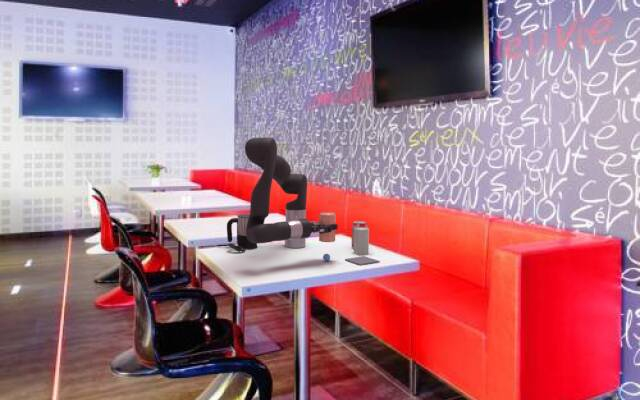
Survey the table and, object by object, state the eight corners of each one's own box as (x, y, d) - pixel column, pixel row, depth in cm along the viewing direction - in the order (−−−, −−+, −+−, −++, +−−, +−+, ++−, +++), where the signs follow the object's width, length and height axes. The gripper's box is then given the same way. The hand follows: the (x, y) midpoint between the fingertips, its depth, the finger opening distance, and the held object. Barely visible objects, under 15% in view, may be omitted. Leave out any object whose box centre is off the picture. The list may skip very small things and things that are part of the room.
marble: (321, 260, 202) (321, 253, 202) (327, 259, 204) (327, 252, 204) (325, 262, 200) (325, 254, 200) (331, 261, 202) (331, 254, 201)
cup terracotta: (316, 240, 202) (316, 213, 201) (329, 238, 206) (329, 212, 204) (325, 242, 197) (325, 215, 196) (337, 241, 201) (338, 214, 199)
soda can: (366, 250, 224) (366, 223, 222) (350, 249, 225) (350, 223, 224) (367, 247, 230) (368, 221, 229) (352, 246, 232) (353, 220, 230)
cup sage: (351, 252, 218) (351, 227, 216) (362, 251, 221) (362, 226, 220) (359, 255, 213) (360, 230, 211) (371, 253, 216) (371, 228, 215)
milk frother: (255, 245, 232) (255, 213, 230) (262, 252, 217) (262, 218, 215) (224, 246, 227) (224, 214, 225) (229, 254, 212) (229, 219, 210)
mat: (344, 260, 203) (344, 259, 203) (364, 257, 209) (364, 256, 209) (360, 265, 195) (360, 264, 195) (379, 262, 201) (379, 261, 201)
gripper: (306, 222, 186) (343, 218, 196) (287, 217, 198) (322, 213, 207) (306, 242, 187) (342, 237, 197) (287, 235, 199) (322, 231, 208)
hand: (332, 225), depth 202 cm, fingers closed on cup terracotta, 6 cm apart
